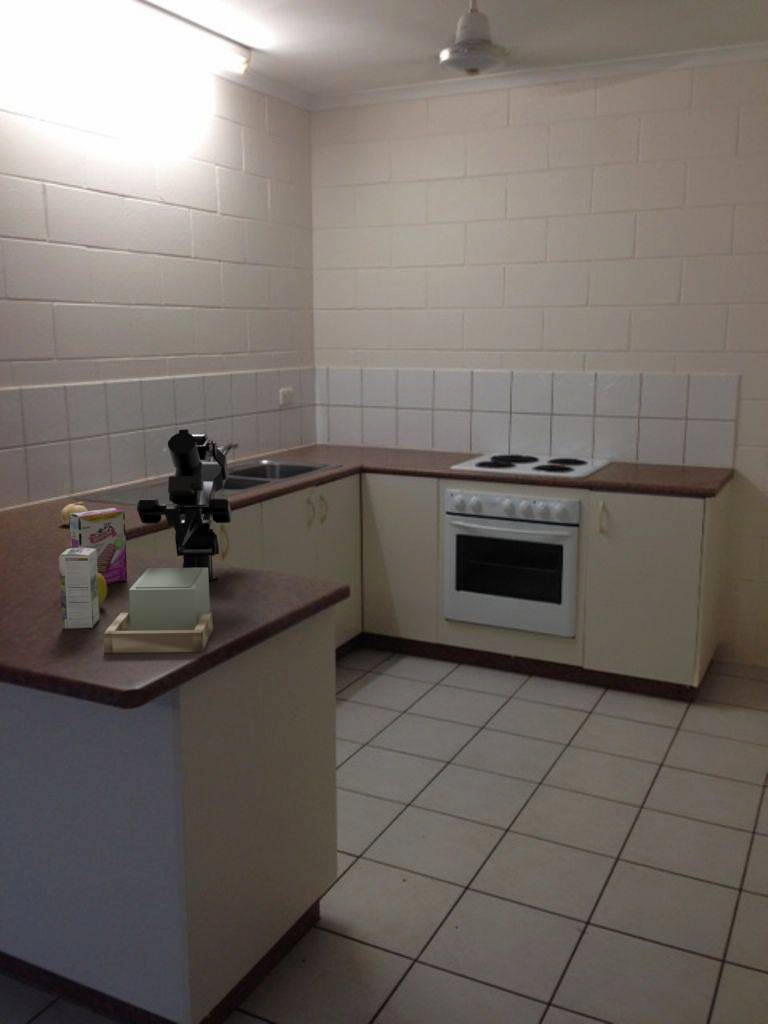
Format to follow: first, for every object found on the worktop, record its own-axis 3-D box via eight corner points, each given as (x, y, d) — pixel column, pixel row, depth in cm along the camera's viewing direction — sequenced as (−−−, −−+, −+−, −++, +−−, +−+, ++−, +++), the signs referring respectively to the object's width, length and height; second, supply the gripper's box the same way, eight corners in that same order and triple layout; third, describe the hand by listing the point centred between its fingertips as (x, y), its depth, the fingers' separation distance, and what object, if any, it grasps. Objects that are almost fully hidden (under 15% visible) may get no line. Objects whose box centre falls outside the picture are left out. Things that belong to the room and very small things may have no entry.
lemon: (111, 604, 190) (108, 566, 189) (104, 611, 185) (101, 573, 183) (84, 604, 190) (81, 566, 189) (76, 612, 185) (73, 573, 183)
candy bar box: (82, 590, 201) (78, 516, 198) (72, 585, 204) (67, 513, 201) (129, 580, 209) (125, 509, 205) (118, 576, 212) (114, 506, 209)
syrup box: (70, 620, 179) (65, 547, 177) (101, 619, 180) (96, 547, 177) (62, 629, 174) (57, 554, 171) (94, 628, 174) (89, 553, 172)
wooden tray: (122, 630, 173) (120, 612, 172) (212, 629, 173) (212, 611, 173) (104, 653, 161) (103, 633, 160) (202, 651, 161) (201, 632, 161)
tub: (150, 611, 186) (147, 567, 184) (209, 610, 186) (208, 566, 184) (131, 636, 170) (128, 588, 168) (196, 635, 170) (194, 588, 169)
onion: (72, 529, 265) (71, 504, 264) (55, 526, 270) (53, 502, 268) (95, 524, 272) (94, 500, 271) (78, 521, 276) (76, 498, 275)
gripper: (136, 460, 189) (126, 523, 180) (227, 459, 190) (222, 523, 181) (146, 491, 198) (137, 553, 190) (233, 491, 199) (228, 552, 190)
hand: (180, 545), depth 187 cm, fingers closed
